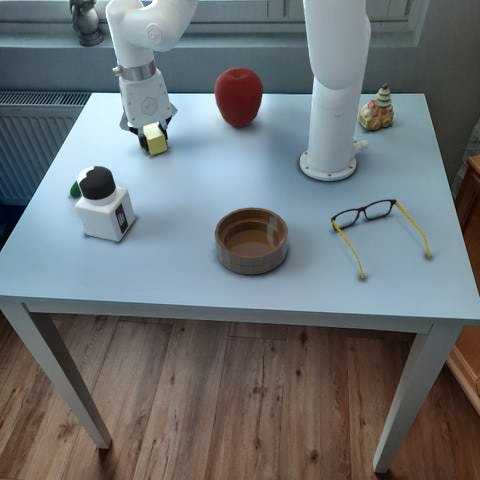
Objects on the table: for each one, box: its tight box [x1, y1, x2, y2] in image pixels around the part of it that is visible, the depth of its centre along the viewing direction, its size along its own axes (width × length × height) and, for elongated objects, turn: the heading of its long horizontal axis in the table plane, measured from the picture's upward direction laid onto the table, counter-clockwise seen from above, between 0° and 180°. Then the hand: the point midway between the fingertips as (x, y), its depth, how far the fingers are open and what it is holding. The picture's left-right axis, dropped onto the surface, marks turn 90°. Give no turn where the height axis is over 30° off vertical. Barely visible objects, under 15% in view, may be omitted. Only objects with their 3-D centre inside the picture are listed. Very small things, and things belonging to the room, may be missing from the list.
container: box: [74, 165, 136, 243], centre depth 92 cm, size 8×8×13 cm
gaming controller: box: [69, 170, 83, 198], centre depth 103 cm, size 9×4×6 cm
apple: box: [213, 66, 264, 129], centre depth 114 cm, size 12×12×13 cm
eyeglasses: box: [330, 198, 431, 279], centre depth 90 cm, size 14×14×4 cm
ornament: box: [358, 83, 395, 131], centre depth 112 cm, size 8×6×10 cm
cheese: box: [143, 123, 168, 156], centre depth 112 cm, size 4×6×4 cm, turn 27°
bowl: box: [214, 206, 289, 275], centre depth 90 cm, size 14×14×5 cm
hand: (154, 145), depth 113 cm, fingers closed on cheese, 4 cm apart
